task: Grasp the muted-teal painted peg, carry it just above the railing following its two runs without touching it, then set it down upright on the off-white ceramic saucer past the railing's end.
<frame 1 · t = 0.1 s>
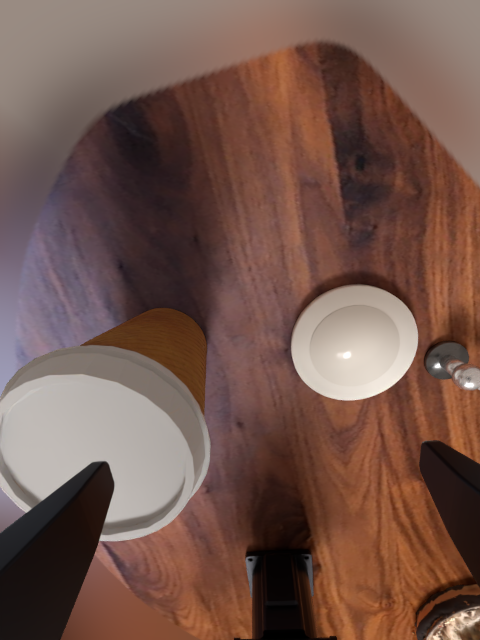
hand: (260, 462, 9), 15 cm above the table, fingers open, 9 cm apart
disposable coffee cup: (167, 345, 24), on the table
saucer: (350, 342, 23), on the table
railing: (476, 412, 25), on the table
sushi roll: (466, 612, 34), on the table
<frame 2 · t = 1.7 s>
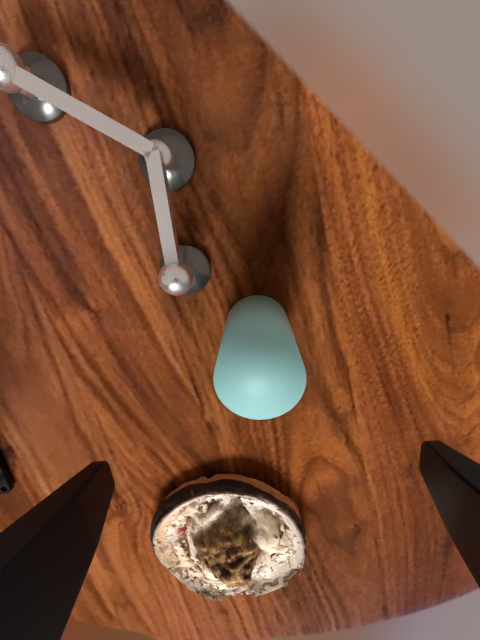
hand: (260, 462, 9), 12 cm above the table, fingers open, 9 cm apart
peg: (257, 325, 20), on the table
railing: (119, 187, 17), on the table
sushi roll: (229, 520, 27), on the table
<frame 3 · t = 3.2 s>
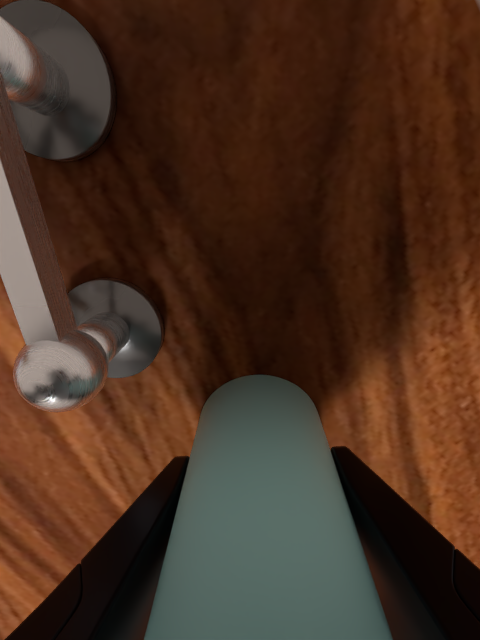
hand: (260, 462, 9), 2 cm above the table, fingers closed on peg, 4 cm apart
peg: (259, 427, 10), on the table, touching gripper
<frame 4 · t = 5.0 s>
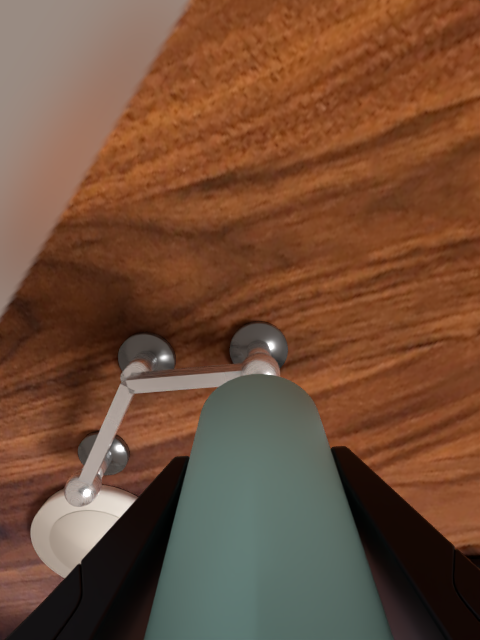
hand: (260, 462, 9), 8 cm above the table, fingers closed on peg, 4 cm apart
peg: (259, 427, 10), point 6 cm above the table, touching gripper
saucer: (103, 533, 21), on the table
railing: (176, 403, 18), on the table
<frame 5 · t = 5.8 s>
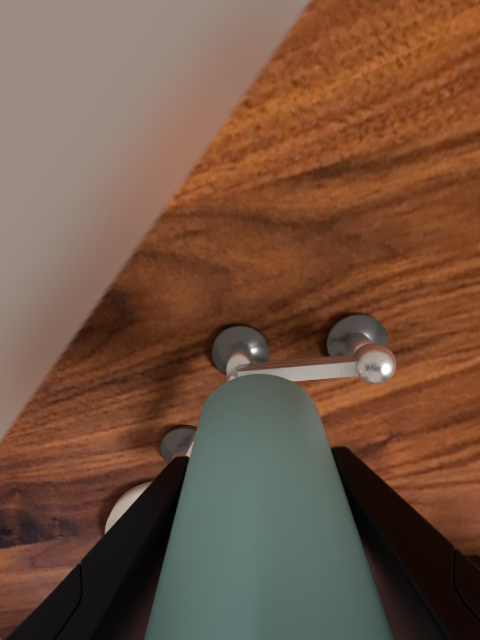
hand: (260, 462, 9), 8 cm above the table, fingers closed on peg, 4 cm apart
peg: (259, 426, 10), point 7 cm above the table, touching gripper
saucer: (175, 530, 21), on the table
railing: (264, 397, 17), on the table
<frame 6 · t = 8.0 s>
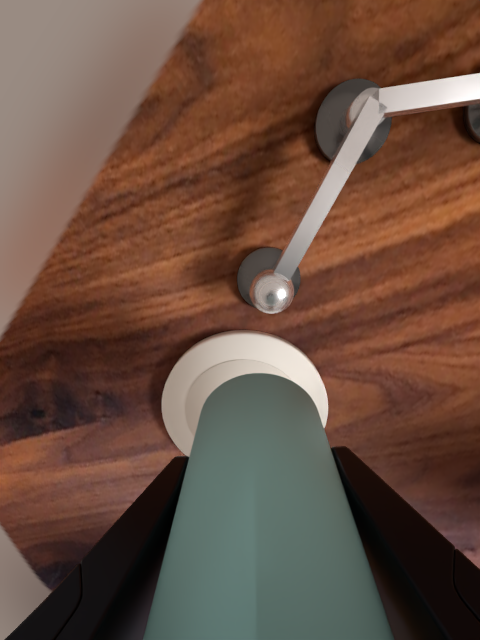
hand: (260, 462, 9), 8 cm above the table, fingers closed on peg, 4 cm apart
peg: (259, 426, 10), point 6 cm above the table, touching gripper
saucer: (244, 404, 17), on the table
railing: (373, 199, 14), on the table
when the fingers open (3 cm above the table, at t = 9.5 s): peg drops 1 cm, resting on saucer.
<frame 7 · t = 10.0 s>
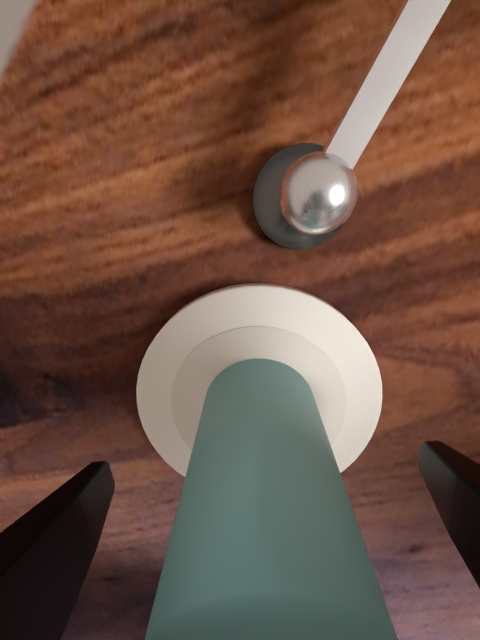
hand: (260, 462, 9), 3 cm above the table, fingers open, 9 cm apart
peg: (259, 408, 11), point 1 cm above the table, touching saucer
saucer: (257, 395, 12), on the table
railing: (479, 61, 8), on the table
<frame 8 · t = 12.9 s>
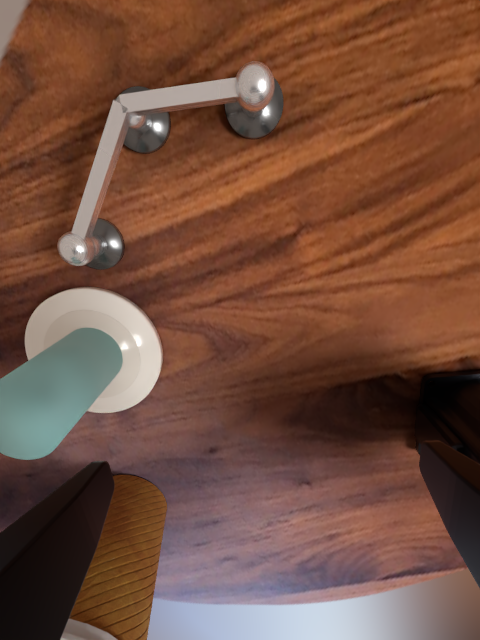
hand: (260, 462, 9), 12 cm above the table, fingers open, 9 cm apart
disposable coffee cup: (130, 501, 26), on the table
peg: (92, 355, 20), point 1 cm above the table, touching saucer
saucer: (98, 350, 21), on the table
railing: (171, 180, 18), on the table
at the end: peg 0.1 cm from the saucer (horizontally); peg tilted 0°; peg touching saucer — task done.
